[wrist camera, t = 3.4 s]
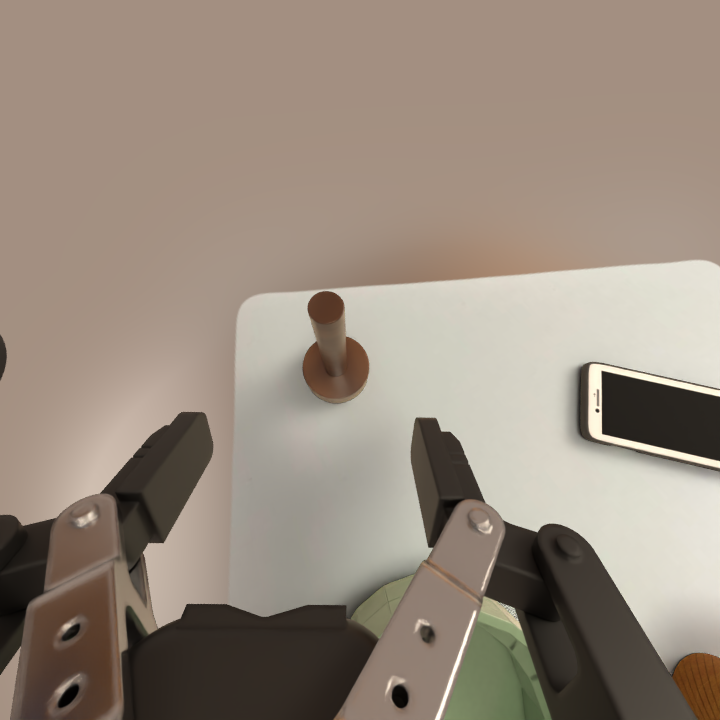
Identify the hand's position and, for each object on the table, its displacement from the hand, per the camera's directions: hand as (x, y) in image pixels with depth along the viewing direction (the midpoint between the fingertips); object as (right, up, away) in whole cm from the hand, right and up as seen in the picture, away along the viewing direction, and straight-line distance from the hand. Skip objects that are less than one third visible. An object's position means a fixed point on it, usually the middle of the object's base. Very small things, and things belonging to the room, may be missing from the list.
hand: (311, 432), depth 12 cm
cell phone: (+30, -3, +18) cm, 35 cm away
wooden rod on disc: (0, +2, +18) cm, 18 cm away
